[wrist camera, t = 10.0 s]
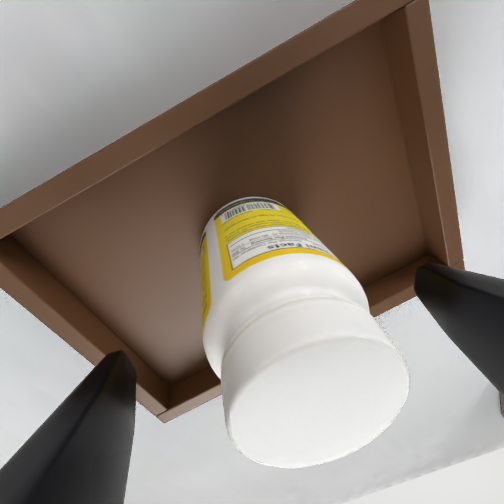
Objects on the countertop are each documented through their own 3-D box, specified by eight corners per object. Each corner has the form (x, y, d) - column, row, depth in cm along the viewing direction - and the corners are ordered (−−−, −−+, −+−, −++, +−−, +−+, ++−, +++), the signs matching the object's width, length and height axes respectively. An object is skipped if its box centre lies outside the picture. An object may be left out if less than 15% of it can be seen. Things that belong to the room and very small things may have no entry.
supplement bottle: (258, 302, 15) (319, 496, 7) (178, 257, 13) (154, 455, 6) (320, 232, 14) (469, 377, 6) (243, 171, 12) (323, 273, 4)
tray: (435, 253, 16) (466, 271, 14) (167, 390, 17) (163, 424, 15) (383, -14, 10) (424, -40, 8) (-16, 220, 11) (-57, 241, 10)
